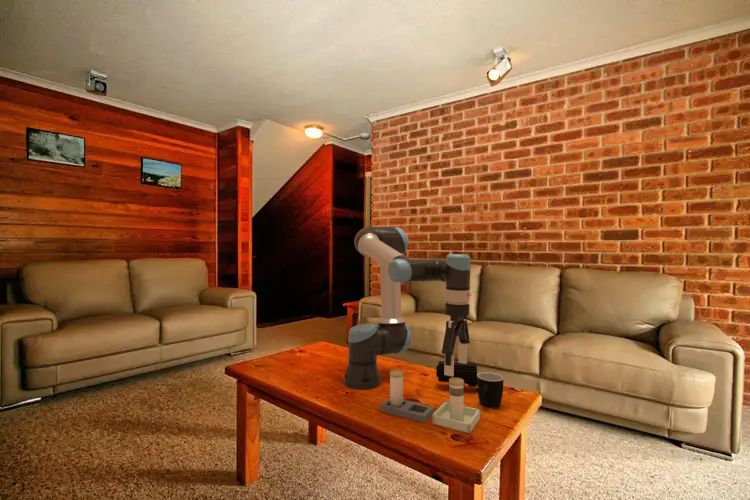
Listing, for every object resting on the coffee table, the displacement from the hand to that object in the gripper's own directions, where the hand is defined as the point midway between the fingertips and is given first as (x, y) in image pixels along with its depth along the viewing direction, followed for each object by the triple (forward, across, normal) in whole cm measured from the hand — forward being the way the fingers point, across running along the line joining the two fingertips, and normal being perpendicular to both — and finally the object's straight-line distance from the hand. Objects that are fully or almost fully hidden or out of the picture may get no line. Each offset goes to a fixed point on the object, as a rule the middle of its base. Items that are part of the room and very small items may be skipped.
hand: (456, 368), depth 116 cm
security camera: (+17, +27, +7) cm, 33 cm away
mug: (+17, +17, -7) cm, 25 cm away
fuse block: (+17, -3, +15) cm, 23 cm away
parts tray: (+17, 0, -1) cm, 17 cm away
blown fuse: (+16, 0, -1) cm, 16 cm away
